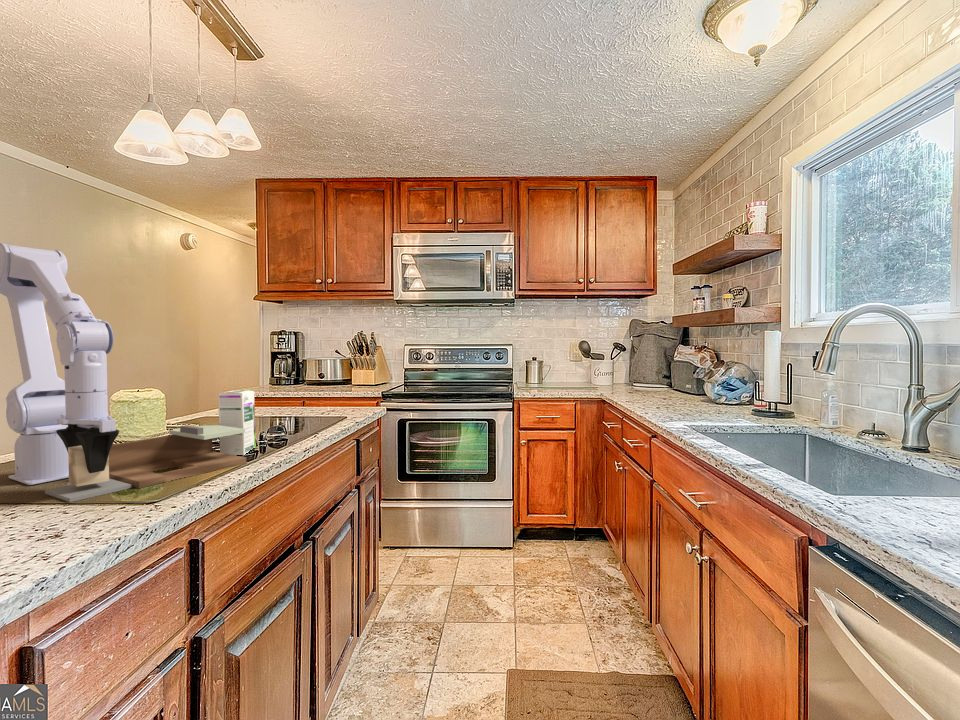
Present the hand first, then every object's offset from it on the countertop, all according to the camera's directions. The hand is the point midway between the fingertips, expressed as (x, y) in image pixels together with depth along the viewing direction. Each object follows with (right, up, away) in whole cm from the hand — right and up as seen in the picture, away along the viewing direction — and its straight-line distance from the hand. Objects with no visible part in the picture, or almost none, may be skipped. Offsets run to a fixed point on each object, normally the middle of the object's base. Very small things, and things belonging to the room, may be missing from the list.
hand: (88, 469), depth 85 cm
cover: (+10, +3, +19) cm, 22 cm away
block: (0, -2, 0) cm, 2 cm away
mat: (0, -4, 0) cm, 4 cm away
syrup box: (+12, -3, +29) cm, 31 cm away
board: (+7, -3, +14) cm, 16 cm away
